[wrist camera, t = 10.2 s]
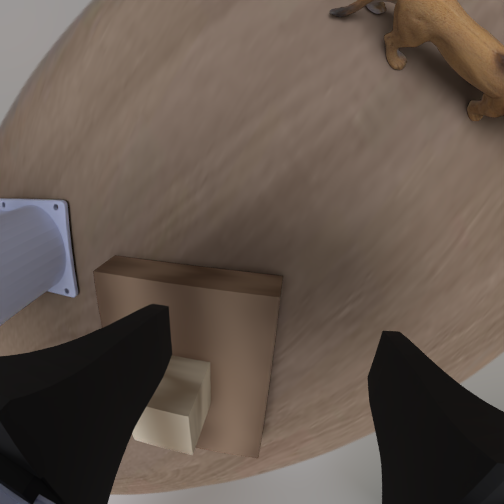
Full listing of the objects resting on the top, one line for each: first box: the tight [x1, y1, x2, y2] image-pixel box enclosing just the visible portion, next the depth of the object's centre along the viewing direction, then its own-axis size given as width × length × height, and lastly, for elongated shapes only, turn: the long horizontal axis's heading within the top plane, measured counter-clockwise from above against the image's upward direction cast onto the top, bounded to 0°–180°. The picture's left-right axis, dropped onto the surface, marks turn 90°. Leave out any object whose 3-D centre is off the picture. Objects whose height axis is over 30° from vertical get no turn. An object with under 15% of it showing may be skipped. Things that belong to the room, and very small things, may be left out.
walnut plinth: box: [93, 256, 283, 458], centre depth 23 cm, size 12×16×3 cm
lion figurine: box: [330, 0, 504, 121], centre depth 11 cm, size 15×5×9 cm, turn 73°
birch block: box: [132, 355, 211, 455], centre depth 19 cm, size 4×4×5 cm
